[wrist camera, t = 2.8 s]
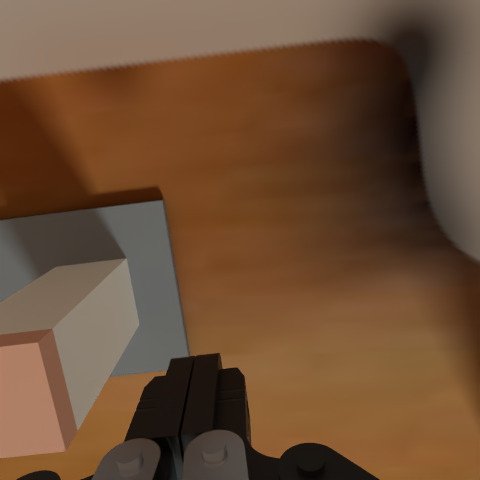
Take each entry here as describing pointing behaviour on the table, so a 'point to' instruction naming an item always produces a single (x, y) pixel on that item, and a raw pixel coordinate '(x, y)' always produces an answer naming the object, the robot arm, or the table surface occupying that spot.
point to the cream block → (60, 352)
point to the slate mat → (103, 249)
